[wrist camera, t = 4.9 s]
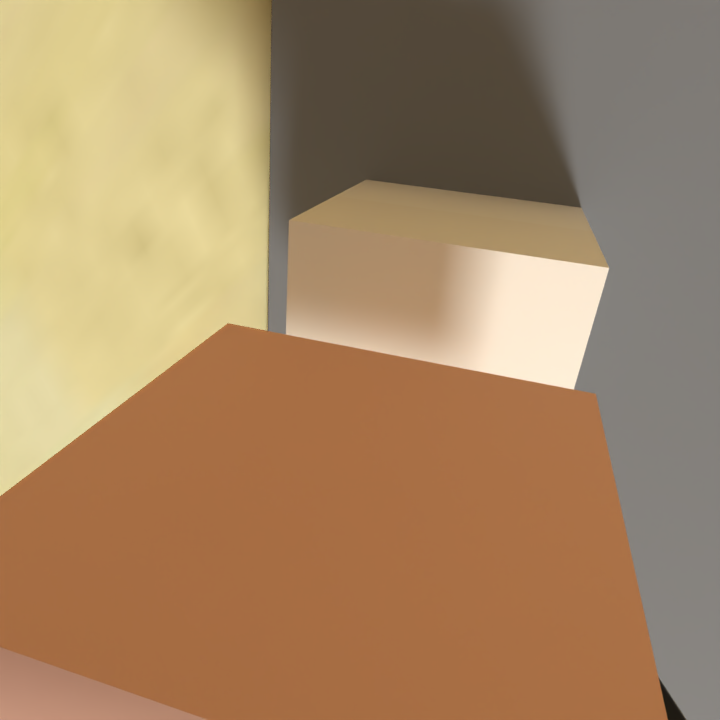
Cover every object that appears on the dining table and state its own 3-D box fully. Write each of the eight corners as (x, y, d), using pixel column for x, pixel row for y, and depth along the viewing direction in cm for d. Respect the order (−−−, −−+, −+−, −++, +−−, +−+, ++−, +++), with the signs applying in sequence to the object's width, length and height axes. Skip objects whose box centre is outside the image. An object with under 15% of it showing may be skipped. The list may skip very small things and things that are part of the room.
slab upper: (592, 231, 12) (609, 267, 10) (532, 452, 15) (533, 527, 13) (334, 196, 14) (288, 220, 11) (321, 406, 16) (282, 466, 14)
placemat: (1230, 21, 11) (1253, 19, 11) (748, 741, 22) (752, 752, 21) (277, -31, 15) (272, -34, 15) (268, 599, 26) (265, 605, 25)
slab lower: (581, 207, 15) (592, 231, 12) (532, 399, 18) (532, 452, 15) (366, 179, 16) (334, 196, 14) (350, 363, 19) (321, 406, 16)
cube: (595, 393, 7) (705, 892, 3) (514, 657, 9) (499, 1165, 5) (227, 323, 8) (-136, 599, 4) (234, 575, 10) (14, 935, 6)
